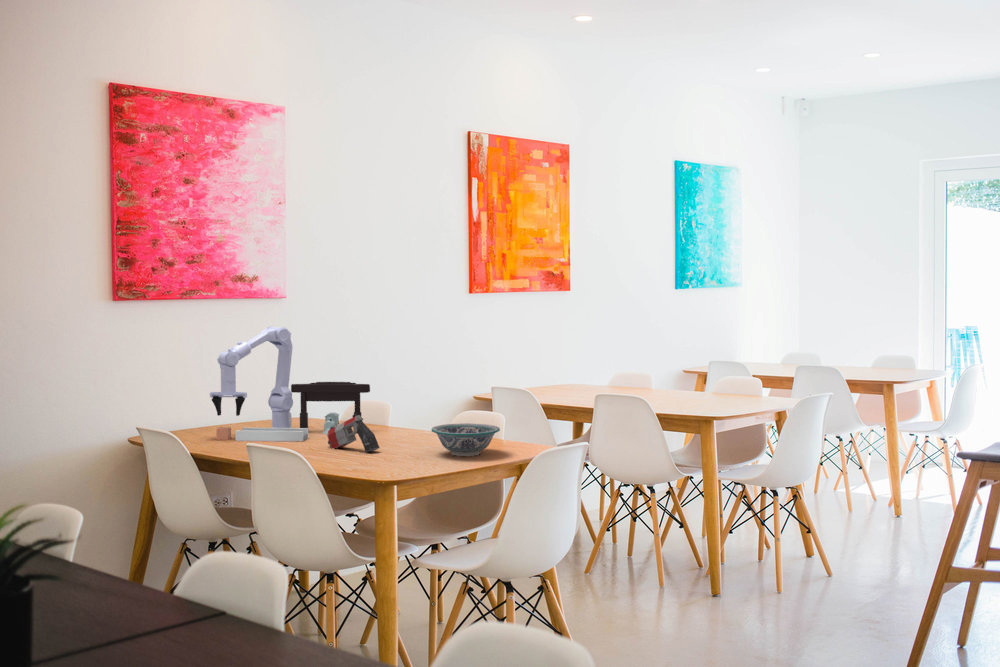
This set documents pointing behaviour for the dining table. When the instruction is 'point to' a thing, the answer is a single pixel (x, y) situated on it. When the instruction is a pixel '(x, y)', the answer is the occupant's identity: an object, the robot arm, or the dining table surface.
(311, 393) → the black side table
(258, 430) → the trap channel
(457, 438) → the bowl
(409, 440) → the dining table surface
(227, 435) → the block
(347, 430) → the toy gun
